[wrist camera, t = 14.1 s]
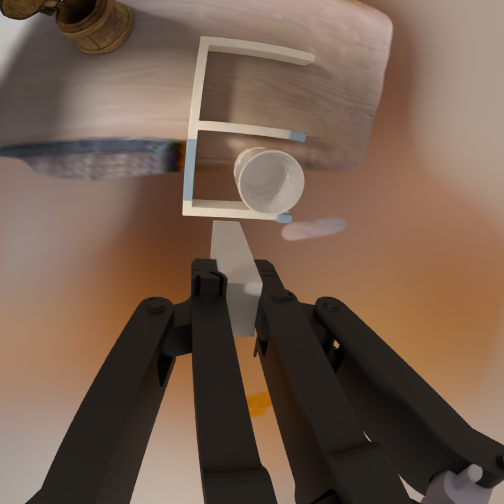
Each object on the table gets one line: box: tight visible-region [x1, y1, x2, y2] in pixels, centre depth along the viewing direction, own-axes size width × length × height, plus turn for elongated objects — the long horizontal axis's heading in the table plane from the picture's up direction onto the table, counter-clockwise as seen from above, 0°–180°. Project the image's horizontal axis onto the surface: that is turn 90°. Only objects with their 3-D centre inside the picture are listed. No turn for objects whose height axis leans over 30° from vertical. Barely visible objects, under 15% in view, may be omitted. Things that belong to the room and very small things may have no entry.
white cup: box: [233, 146, 305, 216], centre depth 37 cm, size 8×8×10 cm
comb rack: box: [183, 36, 315, 223], centre depth 36 cm, size 15×25×5 cm, turn 172°
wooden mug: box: [0, 0, 134, 54], centre depth 19 cm, size 9×14×18 cm, turn 63°
